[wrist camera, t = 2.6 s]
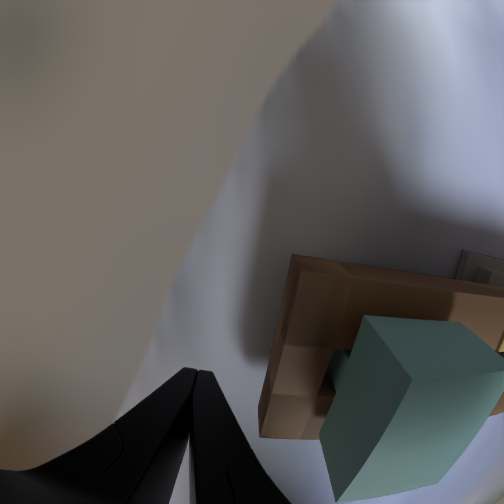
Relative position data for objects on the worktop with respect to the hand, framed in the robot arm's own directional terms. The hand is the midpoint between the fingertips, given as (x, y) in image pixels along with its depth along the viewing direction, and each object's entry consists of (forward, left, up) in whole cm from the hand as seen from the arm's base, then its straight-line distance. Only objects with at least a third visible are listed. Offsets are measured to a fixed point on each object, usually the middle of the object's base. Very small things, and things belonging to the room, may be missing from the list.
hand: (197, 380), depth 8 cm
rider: (0, -6, -2) cm, 7 cm away
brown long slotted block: (0, -13, -4) cm, 14 cm away
